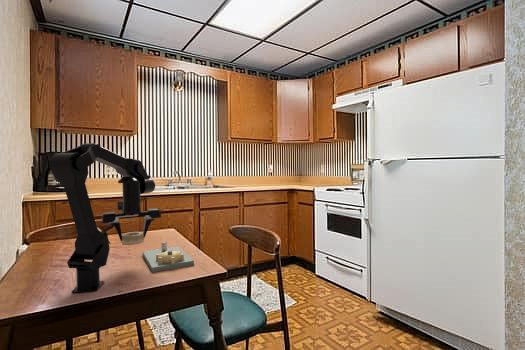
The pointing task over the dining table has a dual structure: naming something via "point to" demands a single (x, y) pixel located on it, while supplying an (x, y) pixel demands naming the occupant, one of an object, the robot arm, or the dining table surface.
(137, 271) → the dining table surface
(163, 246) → the peg
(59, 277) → the dining table surface
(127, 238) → the beige thick ring
